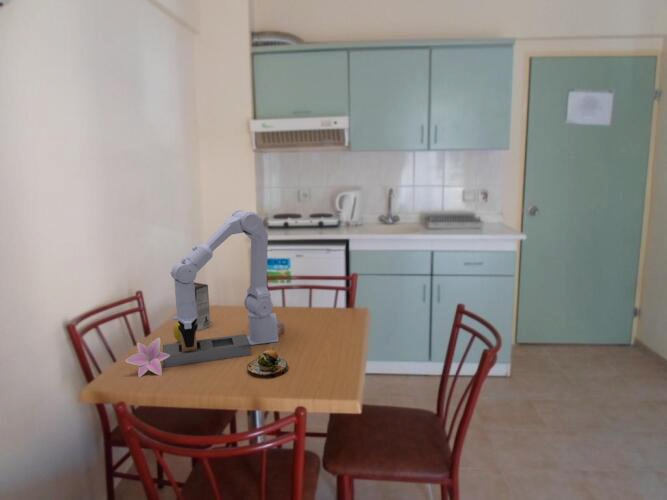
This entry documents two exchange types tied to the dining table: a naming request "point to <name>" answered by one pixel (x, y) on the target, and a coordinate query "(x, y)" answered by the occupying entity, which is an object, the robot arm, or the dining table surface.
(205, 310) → the coffee box
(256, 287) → the robot arm
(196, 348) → the peg
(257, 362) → the burger
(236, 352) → the grey slotted board
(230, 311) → the dining table surface
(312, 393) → the dining table surface
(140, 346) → the lily
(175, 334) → the lemon
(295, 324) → the dining table surface
